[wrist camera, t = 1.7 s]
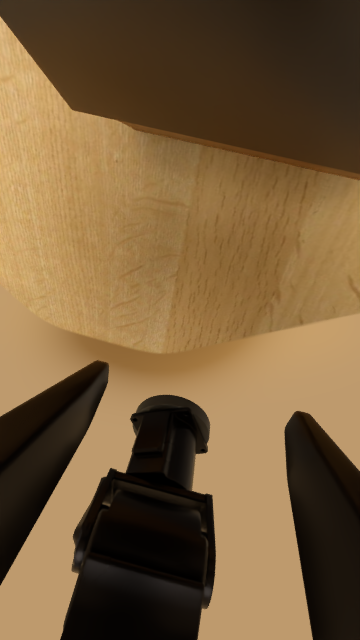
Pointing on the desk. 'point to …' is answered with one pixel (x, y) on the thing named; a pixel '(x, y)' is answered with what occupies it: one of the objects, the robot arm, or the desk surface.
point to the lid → (208, 68)
